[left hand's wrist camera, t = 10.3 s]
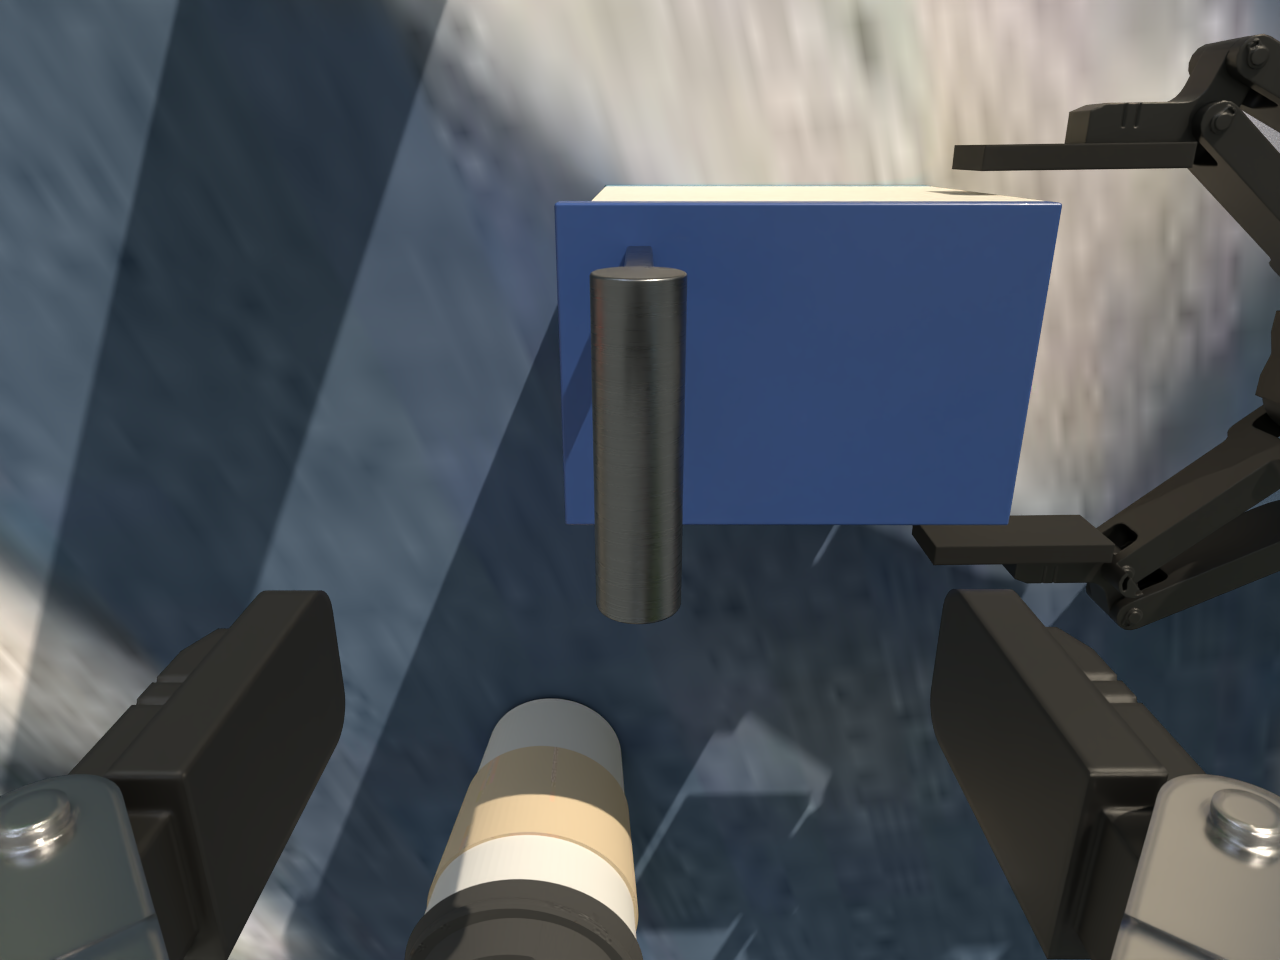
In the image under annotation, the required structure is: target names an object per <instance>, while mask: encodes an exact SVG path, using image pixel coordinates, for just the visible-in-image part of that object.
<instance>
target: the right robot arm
mask: <svg viewBox="0 0 1280 960" xmlns="http://www.w3.org/2000/svg"><path fill="white" fill-rule="evenodd" d="M1188 71H1189V74H1190V77H1189V79H1188V81H1187V83H1186V84H1185V86H1184V88H1183V89H1182V91H1181V92H1180V93H1179V94H1178V95H1177V96H1176V97H1175V98H1173V99H1172V100H1171V101H1168V102H1141V103H1139V102H1138V103H1102V104H1092V105H1085V106H1083V107H1080V108H1078V109H1076V110H1073V111H1071V112H1069V119H1068V125H1067V132H1066V138H1065V144H1014V145H955V148H954V157H953V166H952V169H959V170H975V171H1012V170H1081V169H1151V168H1188V169H1189V170H1190V171H1191V173H1192V174H1193V175H1194V176H1195V177H1196V178H1197V179H1198V180H1199V181H1200V182H1201V183H1202V184H1203V186H1204V187H1205V188H1206V189H1207V190H1208V191H1209V192H1210V193H1211V194H1212V195H1213V196H1214V197H1215V198H1216V200H1217V201H1218V202H1219V203H1220V204H1221V205H1222V206H1223V207H1224V208H1225V209H1226V210H1227V211H1228V213H1229V214H1230V215H1231V216H1232V217H1233V218H1234V219H1235V220H1236V221H1237V222H1238V223H1239V224H1240V226H1241V227H1242V228H1243V229H1244V230H1245V231H1246V232H1247V233H1248V234H1249V235H1250V236H1251V237H1252V238H1253V240H1254V241H1255V242H1256V243H1257V244H1258V245H1259V246H1260V247H1261V248H1262V249H1263V250H1264V251H1265V253H1266V254H1267V255H1268V256H1269V257H1270V258H1271V261H1270V262H1269V264H1270V266H1271V268H1272V269H1273V270H1274V271H1275V272H1276V273H1277V274H1278V275H1279V276H1280V153H1279V152H1278V151H1277V150H1276V149H1275V148H1274V147H1273V145H1272V144H1271V143H1270V142H1269V141H1268V140H1267V139H1266V137H1265V136H1264V135H1263V134H1262V133H1261V132H1260V131H1259V130H1258V128H1257V127H1256V126H1255V125H1254V124H1253V123H1252V122H1251V120H1250V119H1249V118H1248V117H1247V116H1246V115H1245V114H1244V113H1243V111H1244V112H1246V113H1247V114H1249V115H1251V116H1253V117H1254V118H1256V119H1258V120H1259V121H1261V122H1263V123H1264V124H1266V125H1268V126H1269V127H1271V128H1273V129H1274V130H1276V131H1278V132H1279V133H1280V42H1279V41H1278V40H1276V39H1274V38H1273V37H1271V36H1268V35H1265V34H1260V35H1254V36H1247V37H1242V38H1236V39H1231V40H1226V41H1220V42H1216V43H1211V44H1205V45H1204V46H1202V47H1200V48H1198V49H1197V50H1196V52H1195V53H1194V54H1193V55H1192V57H1191V59H1190V62H1189V69H1188ZM1255 395H1257V396H1259V397H1262V398H1263V405H1262V406H1261V407H1259V408H1258V409H1256V410H1255V411H1253V412H1252V413H1250V414H1249V415H1247V416H1246V417H1245V418H1243V419H1242V420H1240V421H1239V422H1237V423H1236V424H1234V425H1233V426H1232V427H1231V428H1230V429H1229V430H1228V432H1227V433H1228V437H1227V439H1226V440H1225V441H1224V442H1222V443H1221V444H1219V445H1218V446H1216V447H1215V448H1213V449H1212V450H1211V451H1209V452H1208V453H1206V454H1205V455H1203V456H1202V457H1200V458H1199V459H1197V460H1196V461H1194V462H1193V463H1191V464H1190V465H1189V466H1187V467H1186V468H1184V469H1183V470H1181V471H1180V472H1178V473H1177V474H1175V475H1174V476H1172V477H1171V478H1169V479H1168V480H1166V481H1165V482H1164V483H1162V484H1161V485H1159V486H1158V487H1156V488H1155V489H1153V490H1152V491H1150V492H1149V493H1147V494H1146V495H1144V496H1143V497H1142V498H1140V499H1139V500H1137V501H1136V502H1134V503H1133V504H1131V505H1130V506H1128V507H1127V508H1125V509H1124V510H1122V511H1121V512H1120V513H1118V514H1117V515H1115V516H1114V517H1112V518H1111V519H1109V520H1108V521H1106V522H1105V523H1103V524H1102V525H1100V526H1099V527H1097V528H1095V527H1094V526H1092V525H1091V524H1090V523H1089V522H1088V521H1086V520H1085V519H1084V518H1083V517H1082V516H1080V515H1027V516H1009V522H1008V525H913V529H912V535H913V537H914V538H915V539H916V541H917V542H918V544H919V545H920V546H921V548H922V549H923V551H924V552H925V554H926V555H927V556H928V558H929V559H930V561H931V562H932V563H933V565H982V564H1002V565H1003V566H1004V567H1005V568H1006V569H1007V570H1008V572H1009V573H1010V574H1011V575H1012V576H1013V577H1014V579H1017V580H1020V581H1022V582H1025V583H1052V582H1054V583H1087V586H1086V592H1087V594H1088V595H1089V596H1090V597H1091V598H1092V599H1093V600H1094V601H1095V602H1096V603H1097V604H1098V605H1099V606H1100V607H1101V608H1102V609H1103V610H1104V611H1105V612H1106V613H1107V614H1108V615H1109V616H1110V617H1111V618H1112V619H1113V620H1114V621H1115V622H1116V623H1117V624H1118V625H1119V626H1120V627H1121V628H1123V629H1125V630H1133V629H1137V628H1140V627H1142V626H1145V625H1147V624H1150V623H1152V622H1155V621H1157V620H1160V619H1162V618H1164V617H1167V616H1169V615H1172V614H1174V613H1177V612H1179V611H1182V610H1184V609H1187V608H1189V607H1192V606H1194V605H1197V604H1199V603H1201V602H1204V601H1206V600H1209V599H1211V598H1214V597H1216V596H1219V595H1221V594H1224V593H1226V592H1229V591H1231V590H1234V589H1236V588H1238V587H1241V586H1243V585H1246V584H1248V583H1251V582H1253V581H1256V580H1258V579H1261V578H1263V577H1266V576H1268V575H1271V574H1273V573H1275V572H1278V571H1280V500H1278V501H1274V502H1270V503H1267V504H1264V505H1262V506H1259V507H1256V508H1254V509H1251V510H1249V511H1247V510H1248V509H1250V508H1251V507H1253V506H1254V505H1256V504H1257V503H1259V502H1261V501H1262V500H1264V499H1265V498H1267V497H1268V496H1270V495H1271V494H1273V493H1274V492H1276V491H1277V490H1279V489H1280V439H1279V438H1278V437H1279V436H1280V311H1276V315H1275V319H1274V323H1273V327H1272V330H1271V355H1270V357H1269V359H1268V361H1267V363H1266V365H1265V367H1264V369H1263V371H1262V373H1261V375H1260V378H1259V382H1258V386H1257V390H1256V394H1255ZM1245 511H1247V512H1245Z"/></svg>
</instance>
